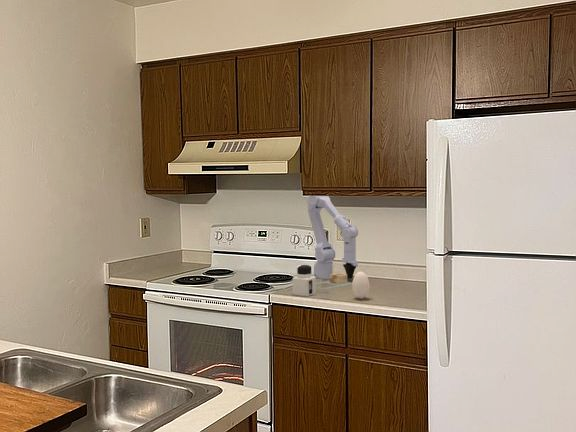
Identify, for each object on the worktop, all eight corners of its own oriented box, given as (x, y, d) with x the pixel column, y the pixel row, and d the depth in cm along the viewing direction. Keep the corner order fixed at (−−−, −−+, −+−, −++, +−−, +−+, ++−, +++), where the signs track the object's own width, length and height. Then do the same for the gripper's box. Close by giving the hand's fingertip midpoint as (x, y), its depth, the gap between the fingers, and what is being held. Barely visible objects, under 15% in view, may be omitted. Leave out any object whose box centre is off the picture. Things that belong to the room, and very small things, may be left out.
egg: (359, 296, 266) (359, 269, 265) (373, 298, 261) (373, 271, 260) (348, 298, 261) (348, 271, 260) (362, 301, 256) (361, 273, 255)
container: (316, 293, 273) (316, 265, 272) (306, 296, 266) (306, 267, 265) (301, 291, 277) (301, 263, 276) (292, 294, 271) (292, 265, 270)
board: (304, 287, 288) (304, 285, 288) (335, 281, 302) (335, 279, 302) (324, 291, 277) (324, 289, 277) (356, 285, 291) (356, 283, 291)
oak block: (329, 282, 293) (329, 274, 293) (338, 281, 297) (338, 273, 297) (338, 284, 289) (338, 276, 289) (347, 282, 293) (347, 274, 293)
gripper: (336, 249, 303) (336, 276, 304) (348, 253, 289) (348, 281, 290) (349, 249, 305) (349, 275, 306) (361, 252, 291) (362, 280, 292)
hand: (349, 278), depth 298 cm, fingers closed
